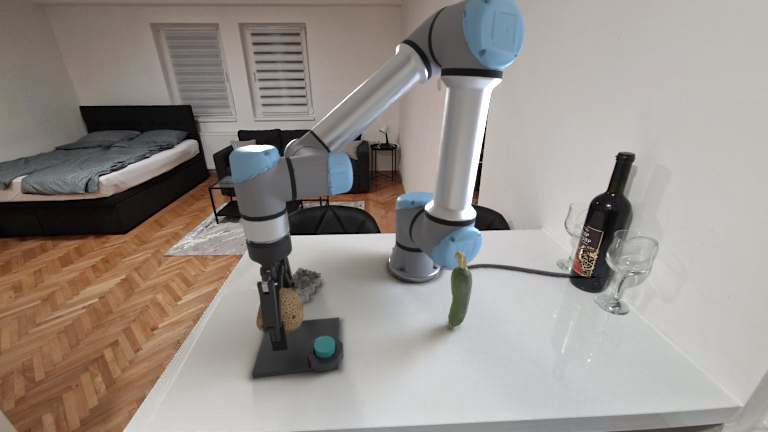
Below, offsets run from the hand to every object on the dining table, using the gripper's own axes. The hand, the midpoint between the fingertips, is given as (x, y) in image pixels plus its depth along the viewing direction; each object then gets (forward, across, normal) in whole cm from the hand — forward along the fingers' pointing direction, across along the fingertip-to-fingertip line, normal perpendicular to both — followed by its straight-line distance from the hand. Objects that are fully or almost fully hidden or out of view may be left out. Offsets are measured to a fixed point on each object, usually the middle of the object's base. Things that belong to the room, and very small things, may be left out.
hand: (284, 330), depth 63 cm
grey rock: (+4, -18, +1) cm, 18 cm away
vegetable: (+4, 0, +37) cm, 37 cm away
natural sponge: (0, 0, 0) cm, 0 cm away
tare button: (+1, +6, +8) cm, 10 cm away
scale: (+3, +2, +3) cm, 5 cm away
